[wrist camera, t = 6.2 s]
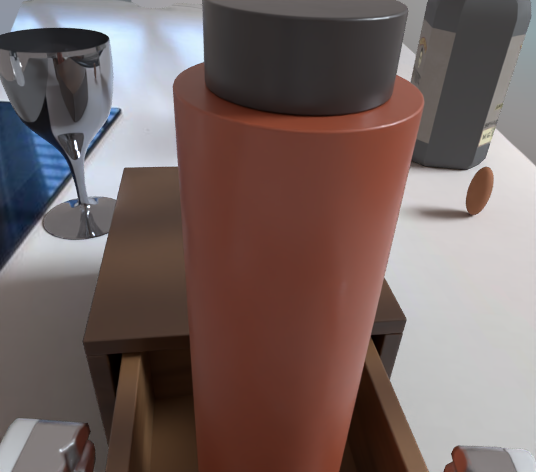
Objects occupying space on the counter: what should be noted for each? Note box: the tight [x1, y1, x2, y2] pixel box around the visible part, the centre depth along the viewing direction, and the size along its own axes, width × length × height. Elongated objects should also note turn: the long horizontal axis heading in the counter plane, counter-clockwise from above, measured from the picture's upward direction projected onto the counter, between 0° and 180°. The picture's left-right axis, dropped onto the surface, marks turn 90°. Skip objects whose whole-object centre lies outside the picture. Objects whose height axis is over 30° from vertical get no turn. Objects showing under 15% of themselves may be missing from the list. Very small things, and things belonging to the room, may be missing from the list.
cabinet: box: [83, 167, 406, 447], centre depth 29 cm, size 16×14×9 cm
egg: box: [466, 167, 493, 215], centre depth 45 cm, size 2×2×5 cm
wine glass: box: [0, 28, 116, 239], centre depth 39 cm, size 8×8×15 cm
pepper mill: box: [173, 0, 424, 472], centre depth 14 cm, size 6×6×20 cm
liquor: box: [411, 0, 531, 170], centre depth 50 cm, size 9×9×30 cm
